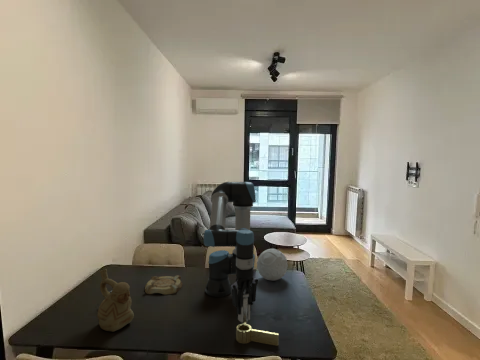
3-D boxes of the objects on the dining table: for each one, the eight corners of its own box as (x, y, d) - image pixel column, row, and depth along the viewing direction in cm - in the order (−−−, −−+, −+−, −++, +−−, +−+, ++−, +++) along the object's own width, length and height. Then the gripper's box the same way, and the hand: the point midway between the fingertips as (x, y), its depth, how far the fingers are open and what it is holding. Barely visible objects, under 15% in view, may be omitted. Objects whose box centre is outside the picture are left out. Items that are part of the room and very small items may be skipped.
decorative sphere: (293, 256, 202) (286, 248, 186) (286, 286, 195) (278, 281, 179) (266, 250, 211) (257, 242, 195) (259, 278, 204) (249, 273, 188)
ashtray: (170, 299, 167) (170, 290, 167) (135, 292, 175) (135, 284, 174) (191, 282, 190) (191, 274, 189) (158, 277, 197) (158, 269, 197)
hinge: (228, 339, 131) (228, 328, 131) (245, 319, 147) (246, 309, 146) (273, 353, 122) (273, 341, 122) (286, 330, 138) (286, 320, 137)
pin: (237, 319, 131) (238, 292, 130) (245, 317, 133) (245, 290, 133) (242, 324, 128) (243, 296, 127) (250, 321, 130) (250, 294, 129)
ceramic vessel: (112, 340, 130) (110, 283, 128) (85, 326, 140) (84, 273, 138) (143, 321, 144) (143, 271, 142) (117, 310, 154) (116, 262, 152)
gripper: (233, 273, 121) (233, 329, 123) (264, 265, 130) (263, 318, 132) (224, 267, 128) (223, 321, 129) (254, 260, 136) (253, 310, 138)
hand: (244, 319), depth 131 cm, fingers closed on pin, 3 cm apart
